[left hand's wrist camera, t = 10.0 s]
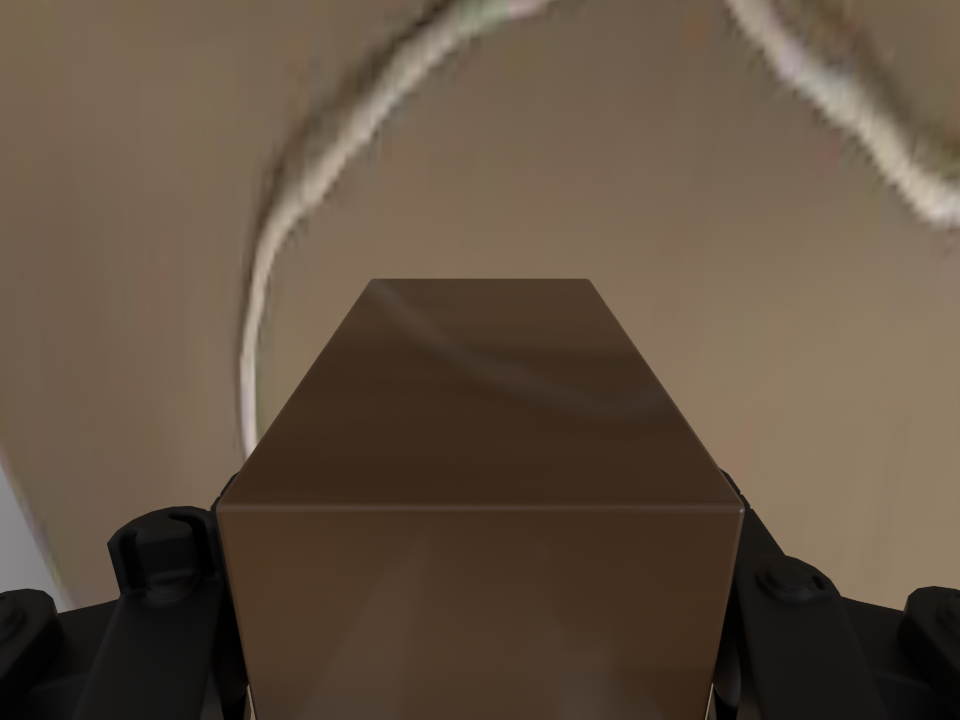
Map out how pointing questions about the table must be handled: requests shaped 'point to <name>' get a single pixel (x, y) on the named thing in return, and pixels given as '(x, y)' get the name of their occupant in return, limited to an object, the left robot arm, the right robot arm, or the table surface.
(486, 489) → the bar
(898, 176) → the table surface
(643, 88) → the table surface
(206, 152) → the table surface
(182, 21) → the table surface
